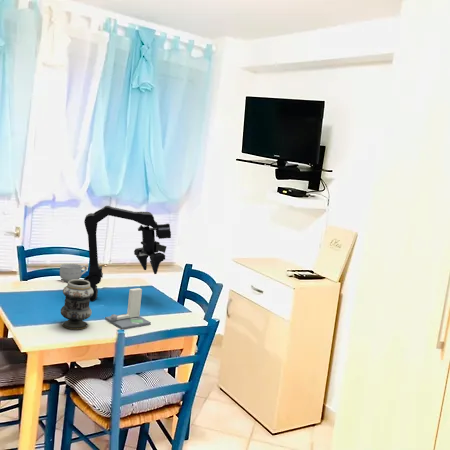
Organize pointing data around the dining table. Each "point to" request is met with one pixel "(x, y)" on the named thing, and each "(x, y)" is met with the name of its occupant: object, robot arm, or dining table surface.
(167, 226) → the robot arm
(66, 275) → the teacup
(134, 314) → the dial crank handle
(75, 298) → the grey ornate vase
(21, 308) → the dining table surface
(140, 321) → the dial board
